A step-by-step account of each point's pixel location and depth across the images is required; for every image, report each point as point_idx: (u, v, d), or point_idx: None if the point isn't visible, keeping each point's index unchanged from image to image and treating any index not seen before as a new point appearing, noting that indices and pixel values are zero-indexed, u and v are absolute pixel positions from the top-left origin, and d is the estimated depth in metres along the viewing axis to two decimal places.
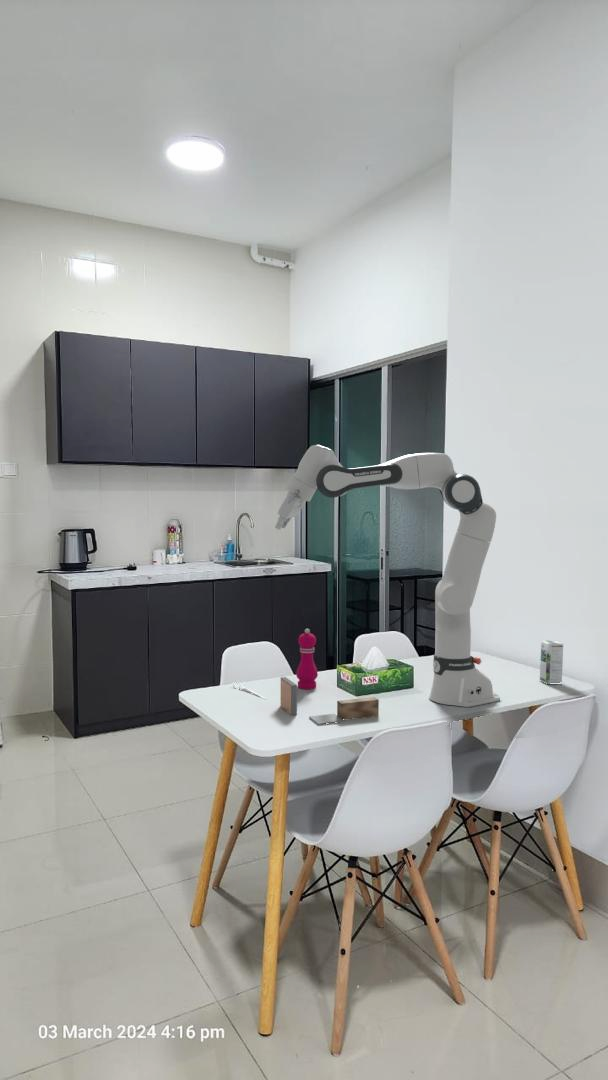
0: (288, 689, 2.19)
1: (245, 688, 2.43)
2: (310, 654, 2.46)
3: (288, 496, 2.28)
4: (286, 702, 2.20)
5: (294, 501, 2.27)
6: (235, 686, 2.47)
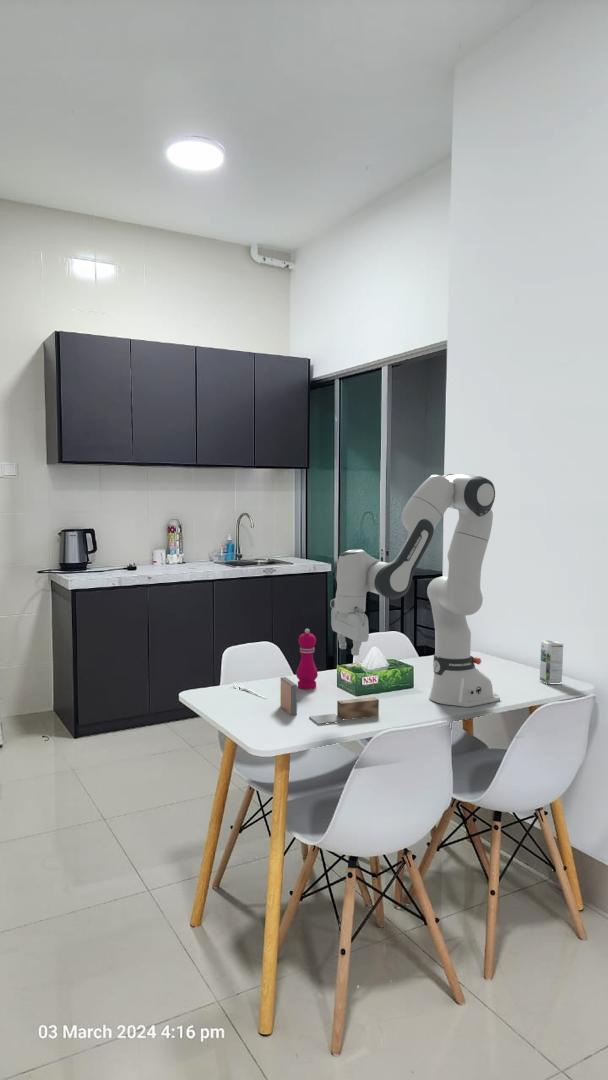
0: (288, 689, 2.19)
1: (245, 688, 2.43)
2: (310, 654, 2.46)
3: (358, 619, 2.05)
4: (286, 702, 2.20)
5: (366, 620, 2.06)
6: (235, 686, 2.47)
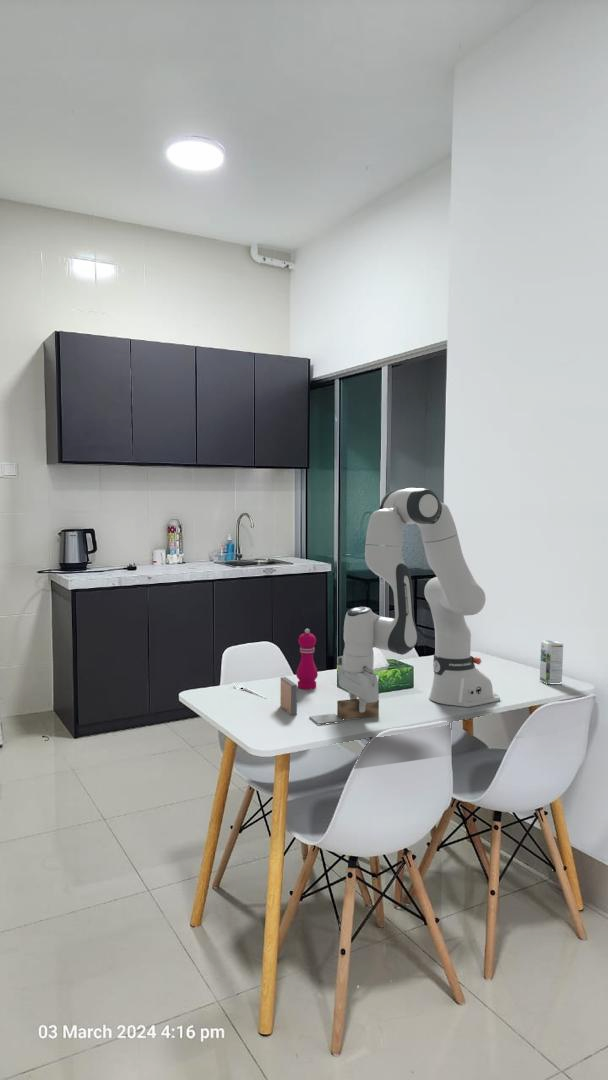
0: (288, 689, 2.19)
1: (246, 688, 2.43)
2: (310, 654, 2.46)
3: (368, 680, 2.06)
4: (286, 702, 2.20)
5: (376, 681, 2.06)
6: (235, 686, 2.47)
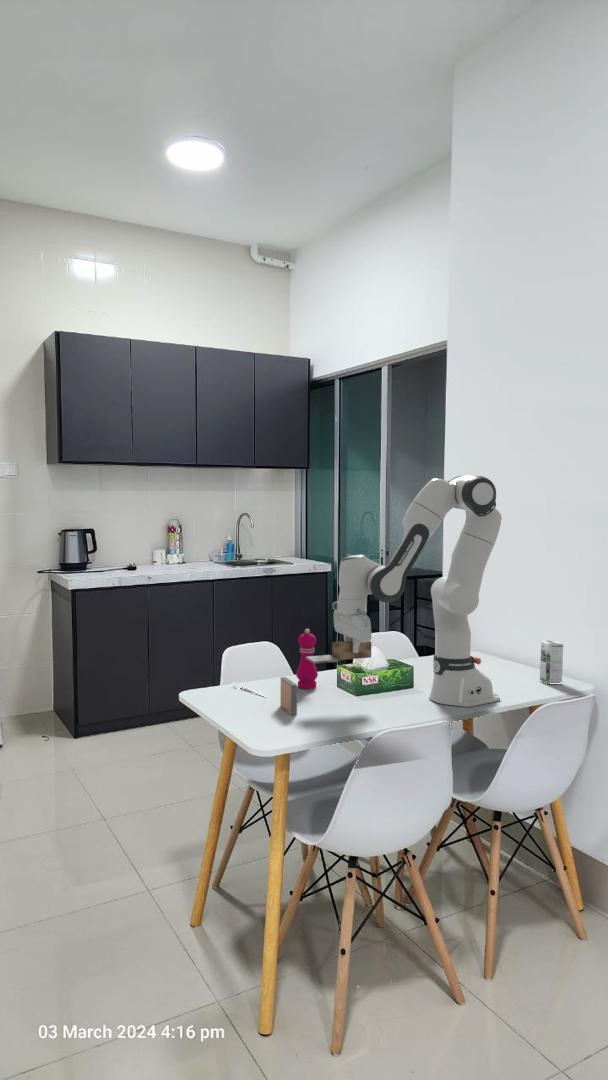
0: (288, 689, 2.19)
1: (246, 688, 2.43)
2: (310, 654, 2.46)
3: (361, 621, 2.18)
4: (286, 702, 2.20)
5: (369, 622, 2.19)
6: (235, 686, 2.47)
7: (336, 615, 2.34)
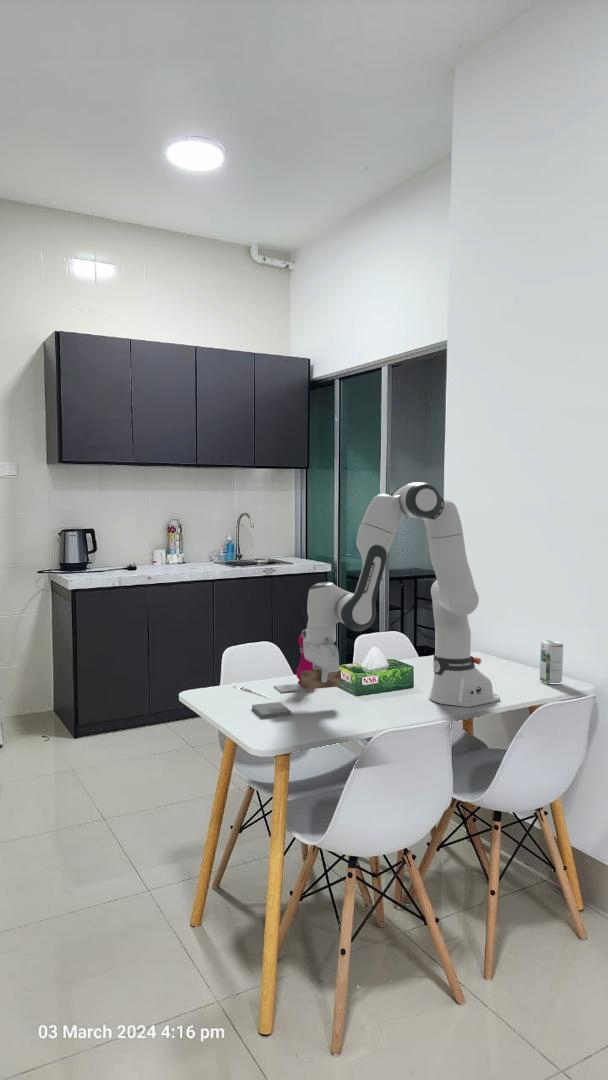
0: None
1: (246, 688, 2.44)
2: None
3: (329, 650, 2.15)
4: None
5: (337, 651, 2.16)
6: (235, 686, 2.47)
7: (305, 643, 2.31)
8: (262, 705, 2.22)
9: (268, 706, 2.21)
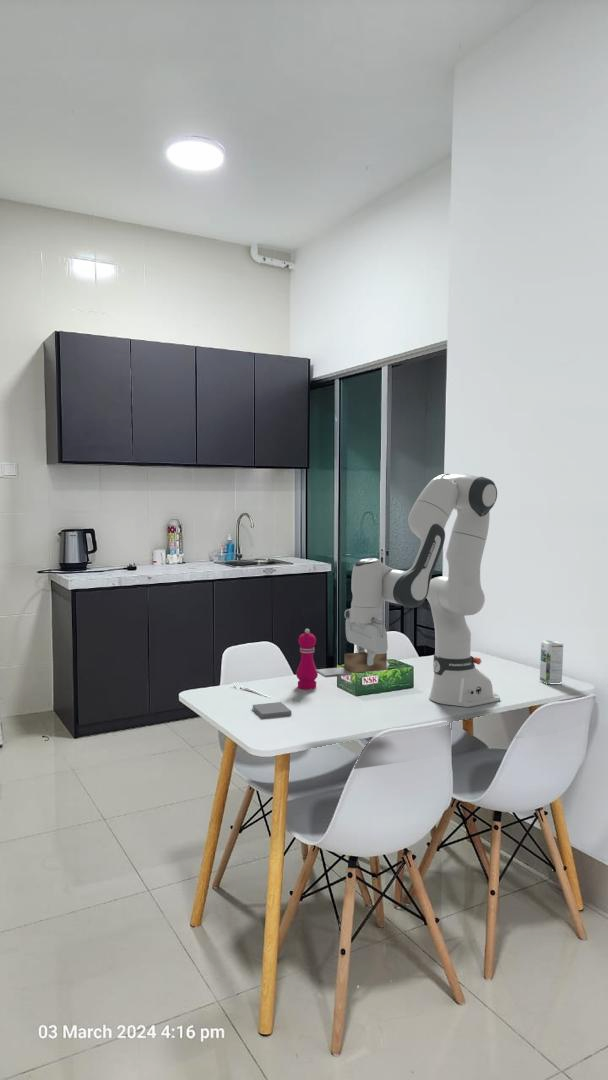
0: None
1: (247, 688, 2.44)
2: (310, 654, 2.46)
3: (377, 631, 2.00)
4: None
5: (385, 632, 2.01)
6: (236, 686, 2.47)
7: (348, 624, 2.16)
8: (263, 705, 2.22)
9: (269, 706, 2.21)
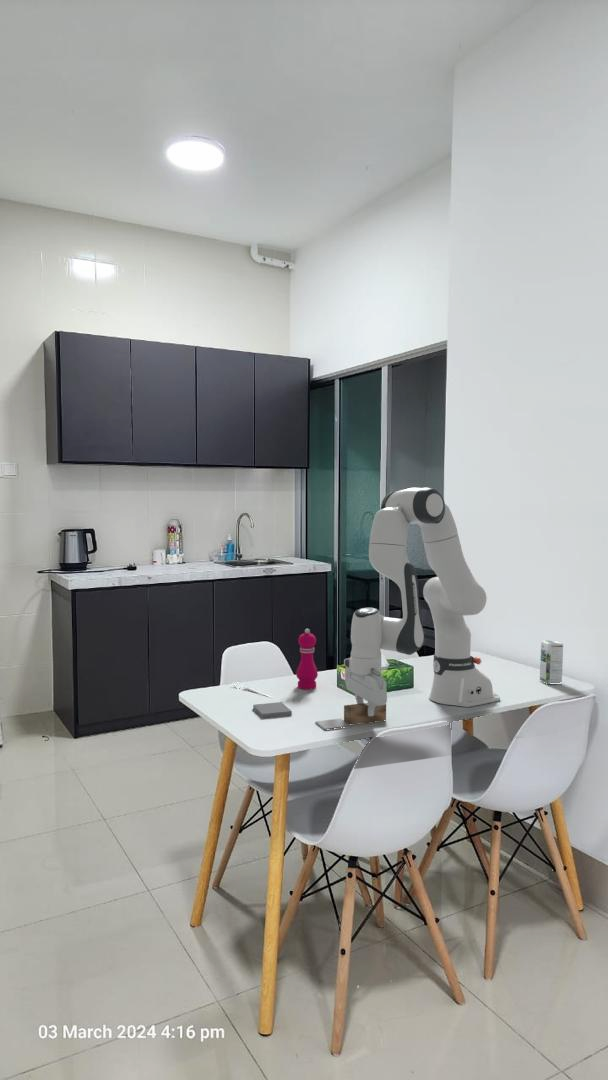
0: None
1: (247, 687, 2.44)
2: (310, 654, 2.46)
3: (376, 683, 2.01)
4: None
5: (384, 683, 2.02)
6: (236, 686, 2.47)
7: (348, 672, 2.16)
8: (263, 705, 2.22)
9: (269, 706, 2.21)
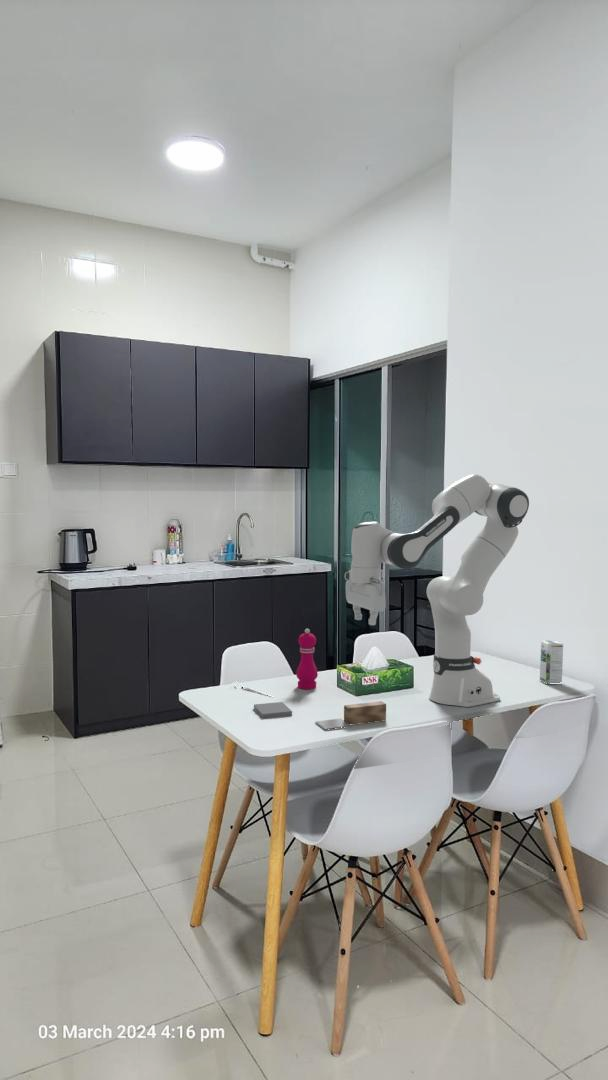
0: None
1: (248, 687, 2.44)
2: (310, 654, 2.46)
3: (375, 589, 2.09)
4: None
5: (383, 590, 2.10)
6: (236, 686, 2.47)
7: (348, 586, 2.25)
8: (264, 705, 2.22)
9: (270, 706, 2.21)
